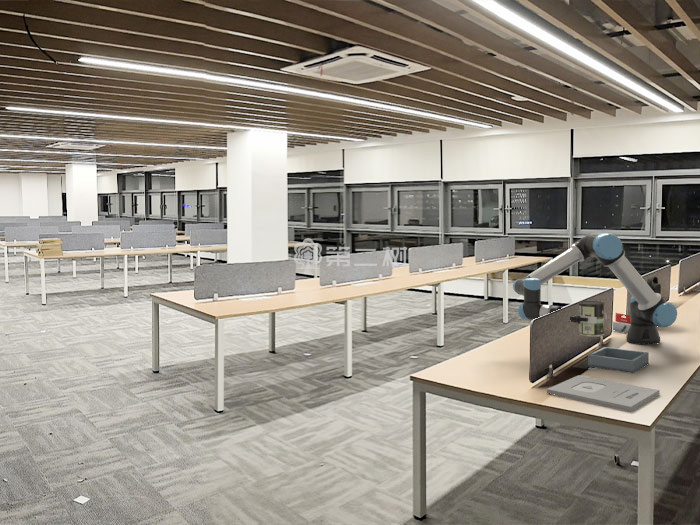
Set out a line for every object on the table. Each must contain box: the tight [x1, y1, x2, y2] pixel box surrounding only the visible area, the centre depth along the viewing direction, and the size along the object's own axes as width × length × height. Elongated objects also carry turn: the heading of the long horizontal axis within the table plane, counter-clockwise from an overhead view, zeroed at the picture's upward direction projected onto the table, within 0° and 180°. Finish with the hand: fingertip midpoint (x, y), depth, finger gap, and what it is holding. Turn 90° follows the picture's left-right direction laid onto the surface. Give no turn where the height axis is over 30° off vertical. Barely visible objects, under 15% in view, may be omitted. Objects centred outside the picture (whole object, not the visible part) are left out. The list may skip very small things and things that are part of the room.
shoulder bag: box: [646, 275, 662, 295], centre depth 331 cm, size 23×9×28 cm, turn 142°
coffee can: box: [578, 300, 605, 338], centre depth 255 cm, size 10×10×14 cm
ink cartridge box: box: [612, 312, 630, 334], centre depth 314 cm, size 2×11×10 cm, turn 25°
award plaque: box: [546, 374, 660, 413], centre depth 211 cm, size 25×30×2 cm
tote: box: [587, 346, 650, 374], centre depth 249 cm, size 18×18×5 cm
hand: (601, 318), depth 251 cm, fingers closed on coffee can, 10 cm apart
